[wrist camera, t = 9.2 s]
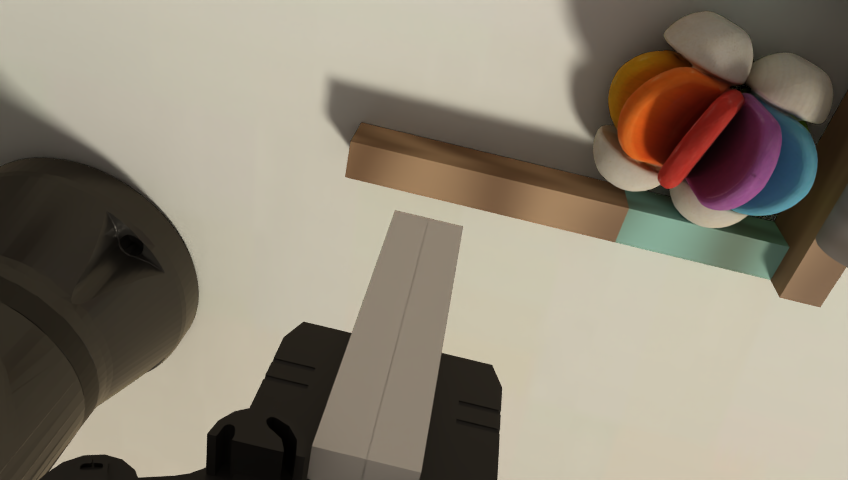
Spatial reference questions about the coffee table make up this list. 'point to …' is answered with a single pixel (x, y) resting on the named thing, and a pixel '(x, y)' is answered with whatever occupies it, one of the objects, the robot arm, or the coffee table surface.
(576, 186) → the bay
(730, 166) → the rainbow sensory ball
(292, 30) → the coffee table surface
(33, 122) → the coffee table surface
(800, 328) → the coffee table surface
